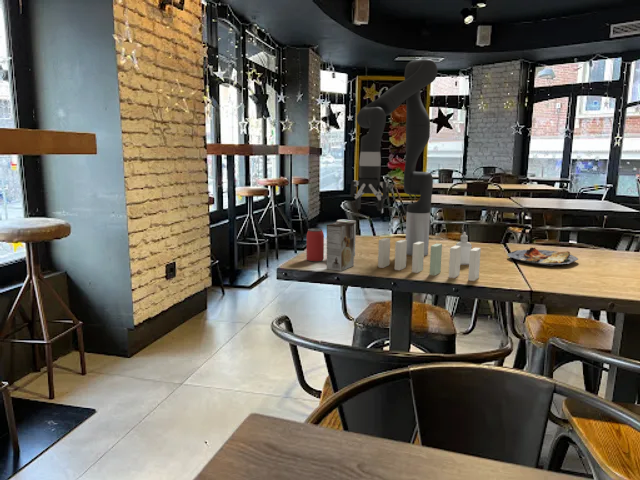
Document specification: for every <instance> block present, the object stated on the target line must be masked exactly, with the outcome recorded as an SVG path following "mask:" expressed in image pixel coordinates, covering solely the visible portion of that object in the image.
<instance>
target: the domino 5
mask: <svg viewBox="0 0 640 480" xmlns="http://www.w3.org/2000/svg"><path fill="white" fill-rule="evenodd" d="M481 249H482V248H481V247H473V248H472V249H471V250H470V258H469V265H468V274H467V275H468V277H467V278H468V279H467V280H468V281H471V282H476V280H478V279H479V277H480V266H481Z"/></svg>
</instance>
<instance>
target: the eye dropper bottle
mask: <svg viewBox="0 0 640 480" xmlns="http://www.w3.org/2000/svg"><path fill="white" fill-rule="evenodd" d="M468 238H469V237H468V235H467V232H466V231H463V233H462V234H461V235H460V241H458V242H457V243H455V245H456V246H461V258H460V266H461V265H462V266H464V265H465V266H469V258H470V250H471V249H473V248H472V247H473V246H472V244H471V242H469V241H468Z"/></svg>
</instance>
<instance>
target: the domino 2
mask: <svg viewBox="0 0 640 480" xmlns="http://www.w3.org/2000/svg"><path fill="white" fill-rule="evenodd" d="M394 244H395V249H394V252H395V253H394V270H395V271H402V270H404V269H405V268H407V254H406V252H407V240H406V239H400V240H398V241H395V243H394Z"/></svg>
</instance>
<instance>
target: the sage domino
mask: <svg viewBox="0 0 640 480" xmlns="http://www.w3.org/2000/svg"><path fill="white" fill-rule="evenodd" d="M442 250H443V243H434V244H432V245H430V255H429V256H430V257H429V275H430V276H437V275H438V274H440V273H442V272H441V271H442V270H441V269H442V252H443V251H442Z"/></svg>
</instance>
